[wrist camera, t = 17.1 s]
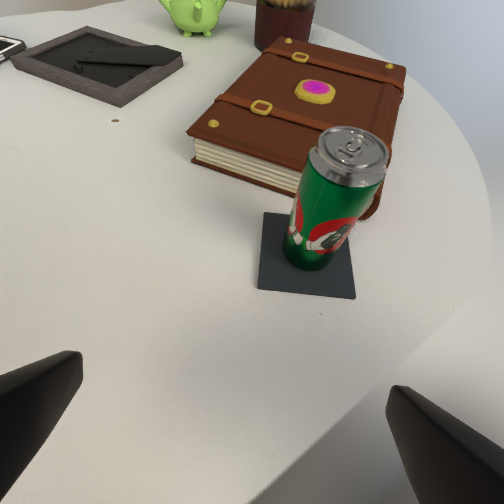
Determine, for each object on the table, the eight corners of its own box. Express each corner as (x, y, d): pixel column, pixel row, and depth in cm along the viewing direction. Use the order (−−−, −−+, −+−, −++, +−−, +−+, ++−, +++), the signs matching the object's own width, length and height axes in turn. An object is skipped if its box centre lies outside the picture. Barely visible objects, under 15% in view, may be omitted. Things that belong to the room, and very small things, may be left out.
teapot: (191, 16, 58) (186, -39, 51) (234, 30, 56) (234, -26, 48) (157, 31, 53) (145, -29, 46) (202, 47, 50) (197, -14, 43)
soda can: (340, 251, 26) (409, 146, 16) (312, 284, 24) (372, 188, 14) (299, 223, 28) (338, 113, 17) (270, 252, 25) (295, 145, 15)
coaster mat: (344, 223, 29) (345, 220, 28) (354, 299, 24) (356, 297, 23) (263, 214, 29) (264, 211, 28) (257, 289, 24) (257, 286, 23)
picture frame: (183, 65, 46) (90, 36, 50) (181, 52, 44) (85, 22, 48) (120, 107, 38) (15, 68, 42) (115, 93, 36) (6, 53, 40)
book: (189, 162, 32) (183, 124, 28) (275, 63, 48) (279, 30, 44) (368, 224, 29) (391, 192, 25) (397, 95, 45) (414, 62, 41)
